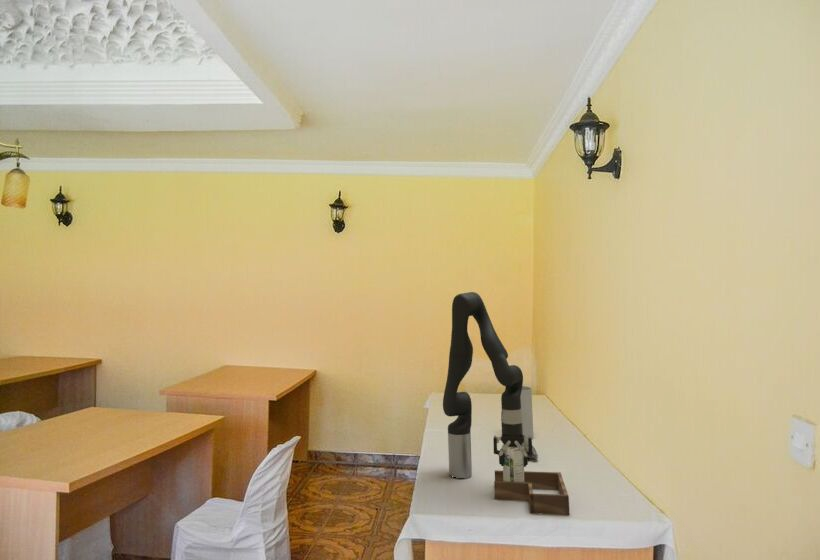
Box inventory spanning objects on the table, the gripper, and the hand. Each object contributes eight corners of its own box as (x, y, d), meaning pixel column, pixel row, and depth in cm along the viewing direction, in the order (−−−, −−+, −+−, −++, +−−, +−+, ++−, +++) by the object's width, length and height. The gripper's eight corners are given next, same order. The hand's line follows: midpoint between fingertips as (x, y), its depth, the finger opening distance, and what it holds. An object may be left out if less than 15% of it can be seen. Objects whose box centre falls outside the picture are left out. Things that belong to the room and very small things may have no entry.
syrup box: (502, 484, 183) (501, 444, 184) (516, 481, 186) (514, 442, 186) (511, 489, 178) (510, 448, 179) (525, 486, 181) (524, 446, 181)
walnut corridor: (495, 486, 189) (494, 470, 189) (561, 488, 185) (560, 472, 185) (494, 511, 167) (493, 493, 167) (569, 514, 163) (568, 496, 163)
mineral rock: (538, 462, 215) (537, 439, 215) (513, 462, 217) (512, 438, 217) (536, 453, 227) (535, 431, 228) (512, 452, 229) (511, 430, 230)
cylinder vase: (523, 442, 244) (521, 391, 245) (503, 438, 253) (501, 388, 254) (538, 437, 252) (536, 387, 253) (518, 433, 262) (516, 385, 262)
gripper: (531, 418, 185) (533, 463, 184) (492, 418, 188) (493, 461, 187) (532, 423, 178) (534, 470, 177) (491, 422, 180) (493, 468, 180)
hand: (513, 465), depth 182 cm, fingers closed on syrup box, 7 cm apart
